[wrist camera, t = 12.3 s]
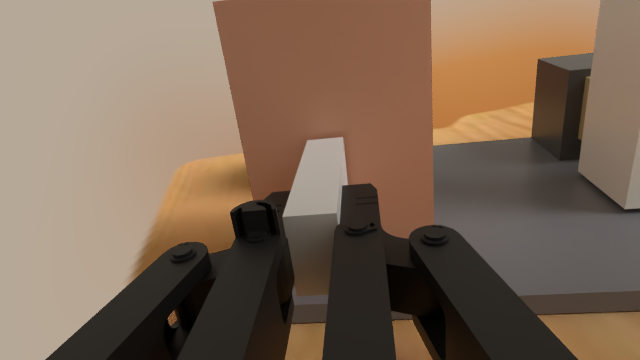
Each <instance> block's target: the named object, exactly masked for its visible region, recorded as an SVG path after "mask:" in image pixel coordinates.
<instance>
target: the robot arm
mask: <svg viewBox="0 0 640 360" xmlns="http://www.w3.org/2000/svg"><path fill="white" fill-rule="evenodd" d="M230 215H231V219H232V224H233V228H234V232H235V236H236V238H235V240H234V242H233V245H232V247H231V248H230V249H227V250H223V251H219V252H215V253H211V254H209V253H208V249H207V246H205V245H204V244H203V243H199V242H186V243H184V244H183V243H182V244H179V245H177V246H175V247H173V248H171V249H169V250H168V251H166V252H165V253H163V254H162V255H161V256H160V257H159V258H158V259H157V260H156V261H155V262H153V263H152V264H151V265H150V266H149V267H148V268H147V269H146V270H145V271H143V272H142V273H141V274H140V275H139V276H138V277H137V278H136V279H135V280H133V281H132V282H131V283H130V284H129V285H128V286H127V287H126V288H125V289H123V290H122V291H121V292H120V293H119V294H118V295H117V296H116V297H115V298H113V299H112V300H111V301H110V302H109V303H108V304H107V305H106V306H105V307H103V308H102V309H101V310H100V311H99V312H98V313H97V314H96V315H95V316H94V317H92V318H91V319H90V320H89V321H88V322H87V323H86V324H84V325H83V326H82V327H81V328H80V329H79V330H78V331H77V332H76V333H74V335H72V336H71V337H70V338H69V339H68V340H67V341H66V342H64V343H63V344H62V345H61V346H60V347H59V348H58V349H57V350H56V351H55V352H53V354H51V355H50V356H49V357H48V358H47V359H46V360H284V359H285V354H286V349H287V344H288V338H289V333H290V328H291V323H292V317H293V312H294V301H293V296H292V290H293V286H294V285H295V291H296V296H317V295H328V305H327V316H326V326H325V337H324V348H323V358H322V360H396V353H395V344H394V335H393V325H392V316H391V311H394V312H399V313H404V314H409V315H412V318H413V322H414V325H415V326H416V328H417V330H418V332H419V334H420V336H421V338H422V340H423V342H424V344H425V345H426V347H427V349H428V351H429V353H430V355H431V357H432V359H433V360H578V359H577V358H576V357H575V356H574V355H573V354H572V353H571V352H570V351H569V349H568V348H567V347H566V346H565V345H564V344H563V343H562V342H561V341H560V340H559V339H558V338H557V337H556V336H555V335H554V334H553V332H552V331H551V330H550V329H549V328H548V327H547V326H546V325H545V324H544V323H543V322H542V321H541V320H540V319H539V318H538V316H537V315H536V314H535V313H534V312H533V311H532V310H531V309H530V308H529V307H528V306H527V305H526V304H525V303H524V302H523V300H522V299H521V298H520V297H519V296H518V295H517V294H516V293H515V292H514V291H513V290H512V289H511V288H510V287H509V286H508V284H507V283H506V282H505V281H504V280H503V279H502V278H501V277H500V276H499V275H498V274H497V273H496V272H495V271H494V270H493V268H492V267H491V266H490V265H489V264H488V263H487V262H486V261H485V260H484V259H483V258H482V257H481V256H480V255H479V254H478V252H477V251H476V250H475V249H474V248H473V247H472V246H471V245H470V244H469V243H468V242H467V241H466V240H465V239H464V238H463V237H462V235H461V234H460V233H458V232H457V231H456V230H454V229H452V228H449V227H446V226H443V225H427V226H422V227H419V228H416V229H415V230H414V231H412V232H411V234H410V236H409V239H407V238H400V237H396V236H393V235H390V234H388V233H387V232H385V231H384V230H383V229H382V226H381V220H380V211H379V202H378V193H377V189H376V188H375V187H374V186H373V185H372V184H371V183H367V184H355V185H348V179H347V170H346V160H345V151H344V141H343V137H337V138H326V139H316V140H307V143H306V146H305V149H304V152H303V155H302V158H301V161H300V164H299V167H298V170H297V173H296V176H295V179H294V182H293V185H292V189H291V191H279V192H272V193H271V194H270V195H268V196H267V197H266V198H265V199H264V200H255V201H249V202H246V203H243V204H240V205H239V206H237V207H235V208H234V209H233V210H232V211H231V212H230ZM173 311H175V314H176V317H177V321H176V322H175V323H174V324H173V325H172V326H170V325H169V323H168V320H167V318H168V317H169V315H170V314H171V313H172V312H173Z"/></svg>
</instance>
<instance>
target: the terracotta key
mask: <svg viewBox="0 0 640 360" xmlns="http://www.w3.org/2000/svg"><path fill="white" fill-rule="evenodd" d="M213 7H214V11H215V16H216V21H217V26H218V31H219V36H220V41H221V46H222V50H223V55H224V60H225V65H226V69H227V74H228V80H229V85H230V89H231V94H232V99H233V103H234V109H235V113H236V119H237V123H238V128H239V133H240V138H241V143H242V148H243V153H244V158H245V162H246V167H247V172H248V177H249V182H250V187H251V192H252V196H253V201H255V200H264V199H265V198H266V197H267V196H268V195H270V194H271V193H272V192H279V191H291V189H292V185H293V182H294V179H295V176H296V173H297V170H298V167H299V164H300V161H301V158H302V155H303V152H304V149H305V146H306V143H307V140H316V139H326V138H337V137H343V141H344V151H345V160H346V170H347V179H348V185H355V184H367V183H371V184H372V185H373V186H374V187H375V188H376V189H377V193H378V202H379V211H380V220H381V226H382V229H383V230H384V231H385V232H387V233H388V234H390V235H393V236H396V237H400V238H407V239H409V236H410V234H411V232H412V231H414V230H415V229H416V228H419V227H422V226H427V225H434V188H433V126H432V61H431V60H432V57H431V0H224V1H216V2H213Z"/></svg>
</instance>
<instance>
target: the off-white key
mask: <svg viewBox="0 0 640 360" xmlns="http://www.w3.org/2000/svg"><path fill="white" fill-rule="evenodd" d="M578 172H579V173H581V174H582V175H583V176H584V177H586V178H587V179H588V180H589V181H590V182H592V183H593V184H594V185H595V186H597V187H598V188H599V189H600V190H602V191H603V192H604V193H605V194H607V195H608V196H609V197H610V198H611V199H613V200H614V201H615V202H616V203H618V204H619V205H620V206H621V207H623V208H624V209H637V208H640V0H601V1H600V8H599V16H598V24H597V31H596V38H595V46H594V53H593V61H592V68H591V76H590V83H589V91H588V98H587V106H586V113H585V121H584V128H583V136H582V144H581V151H580V159H579V166H578Z"/></svg>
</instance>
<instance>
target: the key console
mask: <svg viewBox="0 0 640 360" xmlns="http://www.w3.org/2000/svg"><path fill="white" fill-rule="evenodd" d="M592 61H593V53H588V54H579V55H570V56H561V57H551V58H542V59H538V64H537V77H536V89H535V101H534V113H533V125H532V137H531V138H519V139H507V140H496V141H484V142H472V143H461V144H449V145H437V146H433V188H434V225H443V226H446V227H449V228H452V229H454V230H456V231H457V232H458V233H460V234H461V235H462V237H463V238H464V239H465V240H466V241H467V242H468V243H469V244H470V245H471V246H472V247H473V248H474V249H475V250H476V251H477V252H478V254H479V255H480V256H481V257H482V258H483V259H484V260H485V261H486V262H487V263H488V264H489V265H490V266H491V267H492V268H493V270H494V271H495V272H496V273H497V274H498V275H499V276H500V277H501V278H502V279H503V280H504V281H505V282H506V283H507V284H508V286H509V287H510V288H511V289H512V290H513V291H514V292H515V293H516V294H517V295H518V296H519V297H520V298H521V299H522V300H523V302H524V303H525V304H526V305H527V306H528V307H529V308H530V309H531V310H532V311H533V312H534V313H535V314H561V313H589V312H617V311H640V208H637V209H624V208H623V207H621V206H620V205H619V204H618V203H616V202H615V201H614V200H613V199H611V198H610V197H609V196H608V195H607V194H605V193H604V192H603V191H602V190H600V189H599V188H598V187H597V186H595V185H594V184H593V183H592V182H590V181H589V180H588V179H587V178H586V177H584V176H583V175H582V174H581V173H579V172H578V166H579V159H580V151H581V144H582V136H583V128H584V121H585V113H586V106H587V98H588V91H589V83H590V76H591V68H592ZM292 296H293V301H294V312H293V317H292V323H311V322H326V316H327V305H328V295H317V296H296V291H295V285H294V286H293V290H292ZM391 316H392V320H394V319H413V318H412V315H409V314H404V313H399V312H394V311H391Z"/></svg>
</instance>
